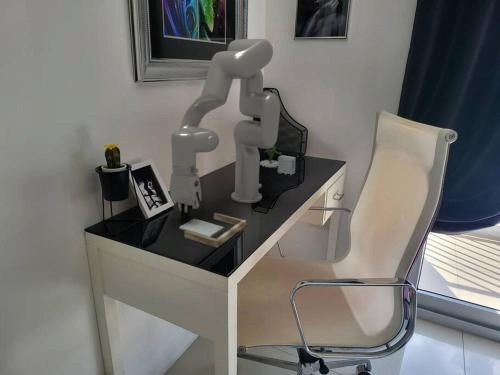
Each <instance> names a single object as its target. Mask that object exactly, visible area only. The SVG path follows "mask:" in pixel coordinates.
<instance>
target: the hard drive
mask: <svg viewBox="0 0 500 375" xmlns="http://www.w3.org/2000/svg"><path fill="white" fill-rule="evenodd" d="M178 229H179V230H182V231H184V232H185V231H186V230H188V231H191V232H194V233H198V234H201V235H204V236H208V237H211V238H214V236H216V235H217V234H219V233H220V232H222V231H223V230H225V226H221V225H218V224H214V223H212V222H208V221H204V220H200V219H198V218H193V219H191V220H190V221H189V222H187V223H183V224H182V225H180V226H179V228H178Z"/></svg>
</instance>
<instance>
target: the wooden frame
mask: <svg viewBox="0 0 500 375" xmlns="http://www.w3.org/2000/svg"><path fill="white" fill-rule="evenodd" d="M213 220H216V221H220V222H223V223H226V224H230V225H234V226H232V227H231V228H229V229H228V230H226V231H225V232H224V233H223V234H221V235H219V236H218V237H216V238H214V237H208V236H204V235H201V234H198V233H194V232H191V231H188V230H186V231H185V230H184V238H185V239H189V240H192V241H194V242H198V243H202V244H204V245H207V246H211V247H214V248H219V247H220V246H222V245H223V244H225V242H227V241H228V240H229V239H230V238H232V237H233V236H235V235H236V234H237V233H239V232H240V231H241V230H242V229H244V228H245V227H247V220H246V219H243V218H242V219H240V218H238V217H233V216H231V215H226V214H222V213H218V212H214V213H213Z"/></svg>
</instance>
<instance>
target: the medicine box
mask: <svg viewBox="0 0 500 375" xmlns="http://www.w3.org/2000/svg"><path fill="white" fill-rule="evenodd" d="M296 158H297V157H295V156H289V155H288V156H287V155H283V154H282V155H279V156H278V158H277V161H278V167H277V173H278V174H282V173H284V174H283V175H287V174H290V175H289V176H293V175H294V174H295V173H296ZM292 174H293V175H292Z"/></svg>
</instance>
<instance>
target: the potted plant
mask: <svg viewBox="0 0 500 375" xmlns="http://www.w3.org/2000/svg"><path fill="white" fill-rule="evenodd" d="M263 152H264V154H265V153H267V155H268V159H265V160H261V161H260V164H259V166H261V165H262V166H261V167H264V166H265V167H264V168H278V167H277V166H278V160H273V158H274V155H275V154H278V155H279V156H282V155H283V154H284V153H282V151H280V152H279V151H277V150H276V146H275V145H274V146H273V147H272V148H269V149H266V150H264V151H263Z"/></svg>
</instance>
